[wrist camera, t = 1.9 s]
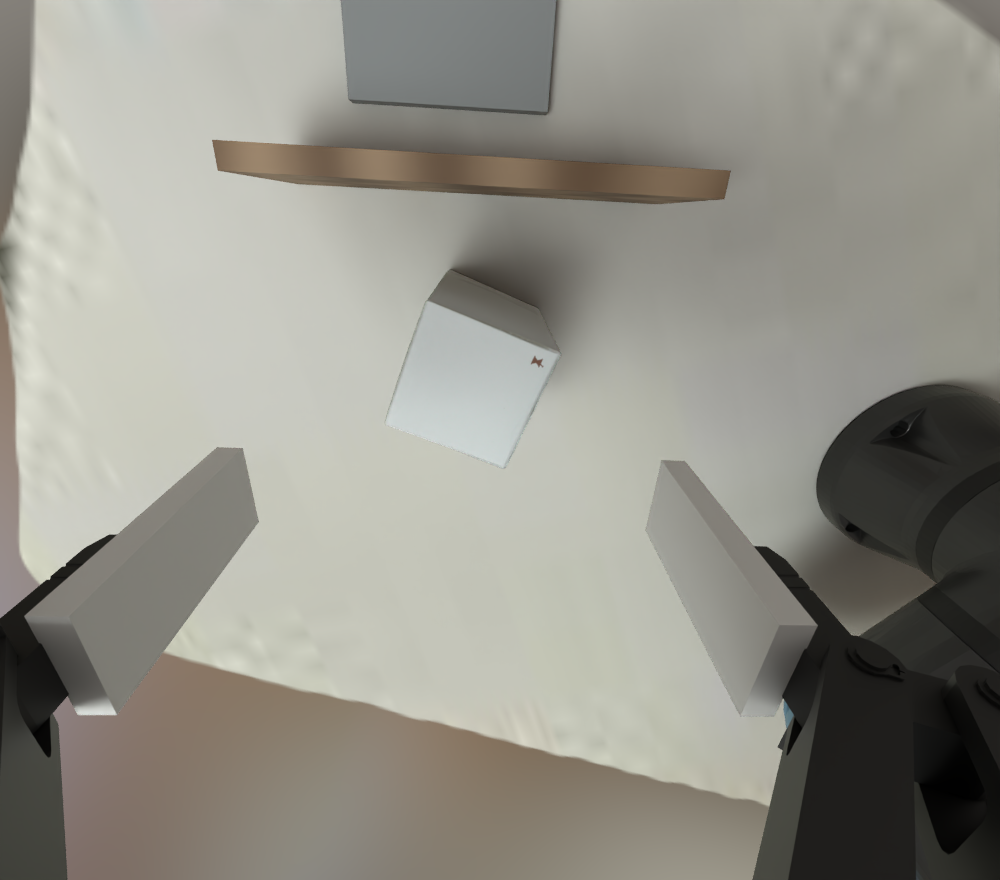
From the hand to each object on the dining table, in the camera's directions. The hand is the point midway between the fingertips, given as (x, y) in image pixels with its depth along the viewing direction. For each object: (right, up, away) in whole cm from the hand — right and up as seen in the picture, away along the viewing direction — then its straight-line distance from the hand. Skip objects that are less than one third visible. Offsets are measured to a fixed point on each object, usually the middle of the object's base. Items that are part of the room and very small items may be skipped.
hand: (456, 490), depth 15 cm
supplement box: (0, +10, +20) cm, 23 cm away
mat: (-2, +27, +12) cm, 29 cm away
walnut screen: (0, +19, +16) cm, 24 cm away
